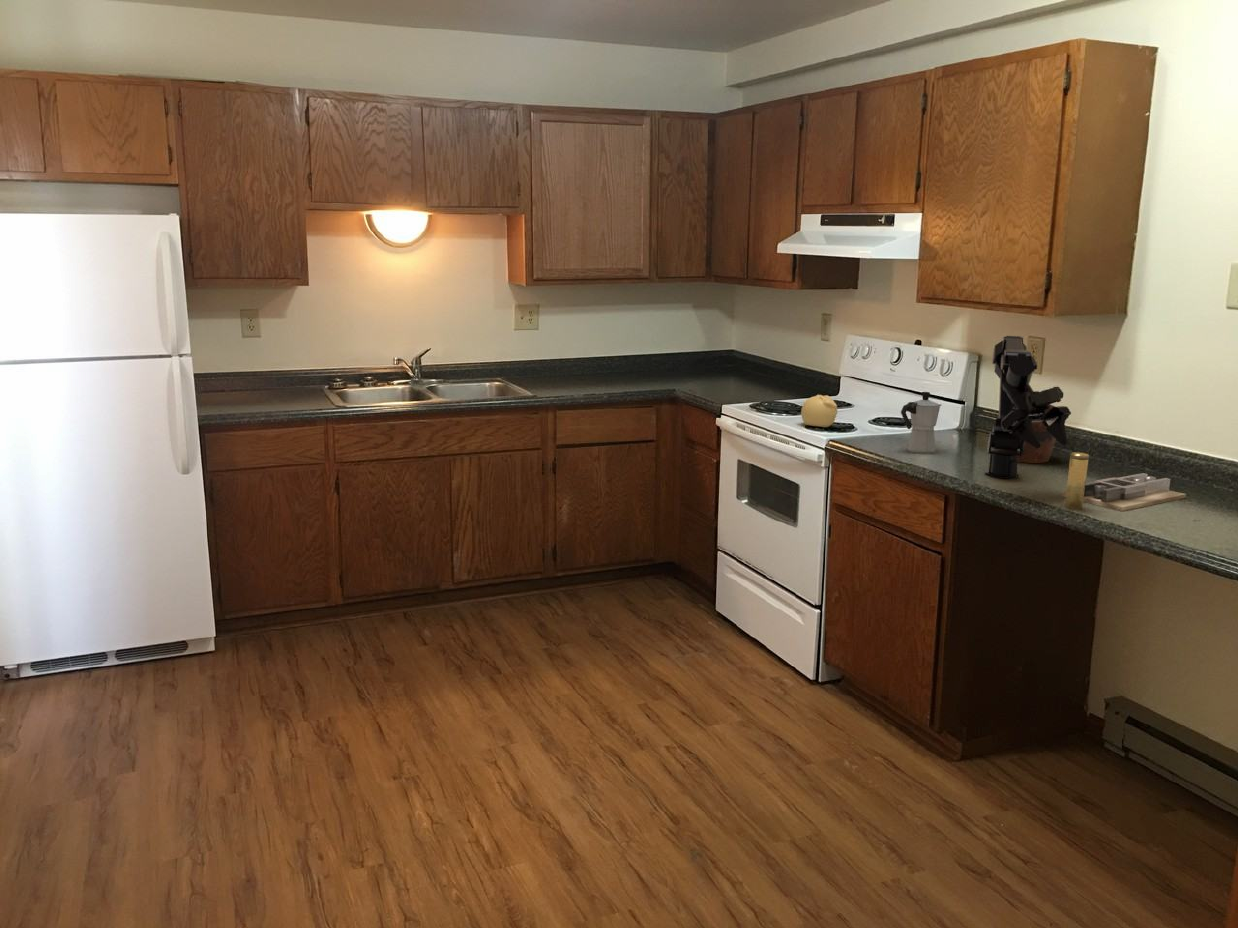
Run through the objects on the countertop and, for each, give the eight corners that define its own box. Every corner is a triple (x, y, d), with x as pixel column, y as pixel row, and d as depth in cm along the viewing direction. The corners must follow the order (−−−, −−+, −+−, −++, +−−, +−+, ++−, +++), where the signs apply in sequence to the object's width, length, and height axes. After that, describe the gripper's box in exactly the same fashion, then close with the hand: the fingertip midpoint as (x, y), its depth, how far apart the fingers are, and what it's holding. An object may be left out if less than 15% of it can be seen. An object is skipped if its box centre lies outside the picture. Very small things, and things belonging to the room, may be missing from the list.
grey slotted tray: (1076, 495, 249) (1077, 483, 248) (1139, 483, 262) (1141, 472, 262) (1107, 503, 241) (1109, 491, 241) (1171, 490, 255) (1172, 479, 255)
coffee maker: (928, 446, 310) (933, 388, 306) (947, 452, 302) (953, 393, 298) (888, 449, 304) (893, 390, 300) (907, 455, 297) (912, 395, 293)
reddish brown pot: (1018, 448, 309) (1024, 391, 305) (1074, 462, 292) (1082, 401, 287) (977, 454, 301) (983, 395, 296) (1032, 468, 283) (1039, 406, 279)
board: (1061, 496, 252) (1062, 492, 252) (1125, 484, 266) (1126, 480, 265) (1121, 511, 238) (1122, 507, 238) (1185, 497, 252) (1186, 494, 252)
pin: (1060, 505, 242) (1066, 453, 239) (1070, 503, 244) (1077, 451, 241) (1075, 509, 239) (1082, 456, 236) (1086, 507, 241) (1092, 455, 238)
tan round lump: (840, 429, 336) (842, 397, 333) (804, 429, 335) (806, 397, 333) (831, 423, 347) (833, 392, 345) (797, 422, 347) (799, 391, 344)
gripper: (1015, 377, 242) (1047, 430, 235) (1069, 374, 250) (1101, 425, 243) (987, 404, 251) (1017, 456, 244) (1040, 400, 259) (1070, 450, 252)
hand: (1052, 446), depth 245 cm, fingers open, 9 cm apart
